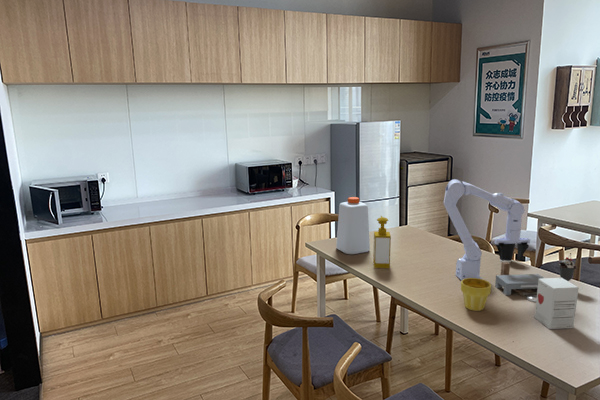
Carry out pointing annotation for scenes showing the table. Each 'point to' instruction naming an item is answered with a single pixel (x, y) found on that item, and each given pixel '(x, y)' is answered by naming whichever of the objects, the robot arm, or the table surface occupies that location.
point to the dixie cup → (508, 252)
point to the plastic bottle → (353, 227)
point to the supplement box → (556, 303)
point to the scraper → (523, 292)
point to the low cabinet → (517, 282)
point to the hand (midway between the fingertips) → (510, 259)
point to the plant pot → (475, 293)
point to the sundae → (567, 269)
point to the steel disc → (532, 298)
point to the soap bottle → (382, 246)
